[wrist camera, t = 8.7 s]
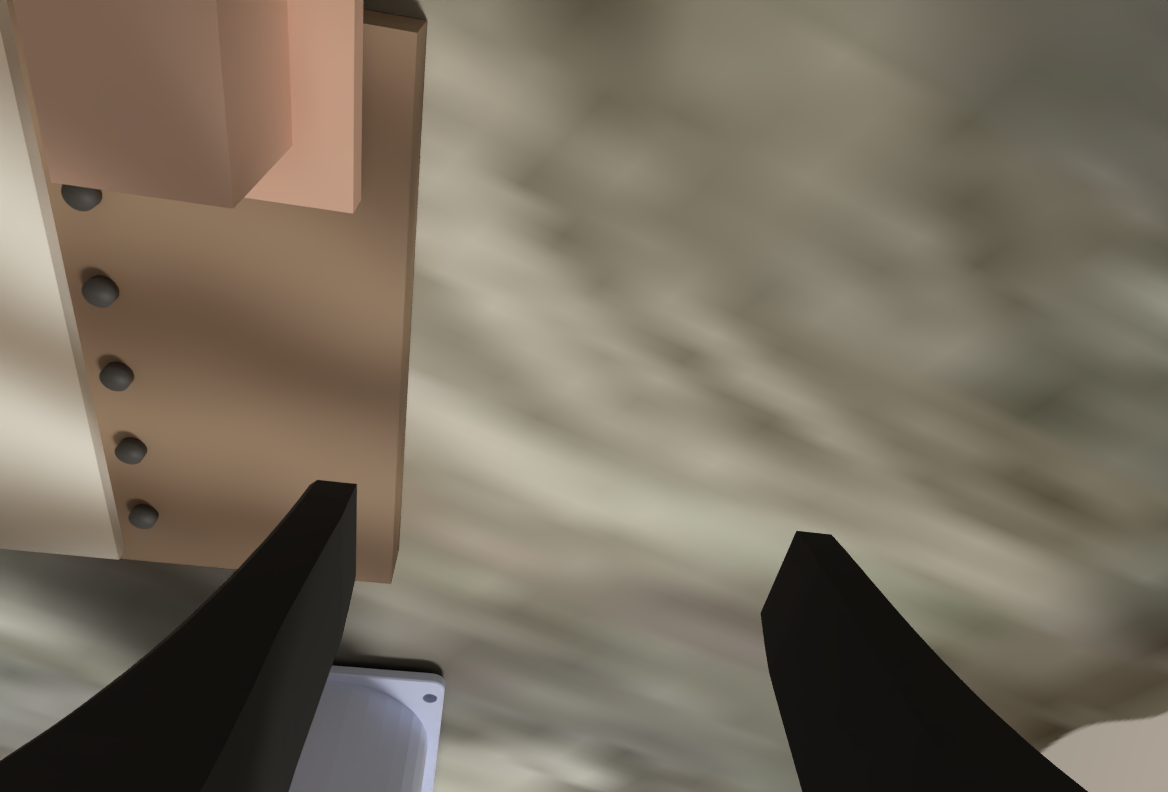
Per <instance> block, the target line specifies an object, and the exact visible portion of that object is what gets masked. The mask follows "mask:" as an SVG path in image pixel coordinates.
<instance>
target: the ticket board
mask: <svg viewBox="0 0 1168 792" xmlns="http://www.w3.org/2000/svg"><path fill="white" fill-rule="evenodd" d="M426 35H427V20H421V19H415V18H410V17H404V16H399V15H393V14H387V13H382V12H376V11H370V10H365V9H363V72H362V154H361V201H360V203H359V204H358V206H357V208H356V210H355V211H354V213H353V214H352V213H346V212H339V211H332V210H325V209H318V208H311V207H305V206H298V205H291V204H284V203H277V202H271V201H264V200H257V199H250V198H243V199H242V200H241V201H240V202H239V203H238V204H237V205H236V207H235V208H234V209H231V208H224V207H217V206H210V205H203V204H196V203H189V202H183V201H176V200H169V199H162V198H155V197H148V196H141V195H134V194H127V193H121V192H114V191H107V190H100V189H93V188H86V187H79V186H72V185H65V184H59V183H52V182H51V179H50V175H49V170H48V165H47V160H46V156H45V151H44V146H43V142H42V137H41V132H40V127H39V123H38V118H37V113H36V108H35V104H34V99H33V94H32V90H31V85H30V80H29V75H28V71H27V66H26V61H25V57H24V52H23V47H22V42H21V38H20V33H19V28H18V23H17V19H16V14H15V9H14V5H13V0H0V549H8V550H19V551H29V552H40V553H51V554H62V555H73V556H84V557H94V558H105V559H116V560H119V559H128V560H139V561H150V562H161V563H172V564H183V565H193V566H204V567H215V568H226V569H238V568H239V567H240V566H241V565H242V564H243V563H244V562H245V561H246V560H247V558H248V557H249V556H250V555H251V554H252V553H253V552H254V551H255V550H256V549H257V548H258V547H259V546H260V544H261V543H262V542H263V541H264V540H265V539H266V538H267V537H268V535H269V534H270V533H271V532H272V531H273V530H274V529H275V527H276V526H277V525H278V524H279V523H280V522H281V520H282V519H283V518H284V517H285V516H286V514H287V513H288V512H289V511H290V510H291V508H292V507H293V506H294V505H295V503H296V502H297V501H298V500H299V498H300V497H301V496H302V494H303V493H304V492H305V490H306V489H307V488H308V486H309V485H310V484H312V483H313V482H315V481H316V480H325V481H334V482H343V483H353V484H357V532H356V578H355V580H356V581H366V582H377V583H388V584H391V581H392V577H393V573H394V568H395V564H396V560H397V555H398V551H399V538H400V520H401V501H402V482H403V464H404V445H405V427H406V408H407V389H408V371H409V352H410V333H411V315H412V296H413V277H414V259H415V240H416V221H417V203H418V184H419V165H420V147H421V128H422V109H423V91H424V72H425V54H426Z"/></svg>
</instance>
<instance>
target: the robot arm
mask: <svg viewBox="0 0 1168 792" xmlns="http://www.w3.org/2000/svg"><path fill="white" fill-rule="evenodd" d="M356 532H357V484H353V483H343V482H334V481H325V480H316V481H315V482H313V483H312V484H310V485H309V486H308V488H307V489H306V490H305V492H304V493H303V494H302V496H301V497H300V498H299V500H298V501H297V502H296V503H295V505H294V506H293V507H292V508H291V510H290V511H289V512H288V513H287V514H286V516H285V517H284V518H283V519H282V520H281V522H280V523H279V524H278V525H277V526H276V527H275V529H274V530H273V531H272V532H271V533H270V534H269V535H268V537H267V538H266V539H265V540H264V541H263V542H262V543H261V544H260V546H259V547H258V548H257V549H256V550H255V551H254V552H253V553H252V554H251V555H250V556H249V557H248V558H247V560H246V561H245V562H244V563H243V564H242V565H241V566H240V567H239V568H238V569H237V570H236V571H235V572H234V573H233V575H232V576H231V577H230V578H229V579H228V580H227V581H226V582H225V583H224V584H223V585H222V586H221V587H220V588H219V589H217V590H216V591H215V592H214V593H213V594H212V595H211V596H210V597H209V598H208V599H207V600H206V601H205V602H204V603H203V604H202V605H201V606H200V607H199V608H198V609H197V610H196V611H195V612H194V613H193V614H192V615H191V616H189V617H188V618H187V619H186V620H185V621H184V622H183V623H182V624H181V625H180V626H179V627H177V628H176V629H175V630H174V631H173V632H172V633H171V634H170V635H169V636H167V637H166V638H165V639H164V640H163V641H162V642H160V643H159V644H158V645H157V646H156V647H155V648H154V649H152V650H151V651H150V652H149V653H148V654H146V655H145V656H144V657H143V658H141V659H140V660H139V661H138V662H137V663H135V664H134V665H133V666H132V667H131V668H129V669H128V670H127V671H126V672H124V673H123V674H122V675H121V676H119V677H118V678H117V679H115V680H114V681H113V682H111V683H110V684H109V685H107V686H106V687H105V688H104V689H102V690H101V691H100V692H98V693H97V694H96V695H94V696H93V697H92V698H90V699H89V700H88V701H87V702H85V703H84V704H83V705H81V706H80V707H79V708H77V709H76V710H74V711H73V712H72V713H70V714H69V715H67V716H66V717H65V718H63V719H62V720H61V721H59V722H58V723H56V724H55V725H53V726H52V727H51V728H49V729H48V730H46V731H45V732H43V733H42V734H40V735H39V736H37V737H36V738H34V739H33V740H31V741H30V742H28V743H26V744H25V745H23V746H22V747H20V748H19V749H17V750H16V751H14V752H13V753H11V754H10V755H8V756H7V757H5V758H4V759H2V760H1V761H0V792H433V787H434V779H435V770H436V761H437V753H438V744H439V735H440V726H441V718H442V709H443V700H444V691H445V680H444V678H443V677H442V676H440V675H438V674H433V673H422V672H409V671H397V670H384V669H372V668H359V667H346V666H334V665H332V664H333V661H334V658H335V655H336V653H337V650H338V647H339V644H340V641H341V638H342V635H343V631H344V626H345V622H346V618H347V613H348V609H349V605H350V600H351V596H352V591H353V587H354V582H355V578H356ZM761 620H762V627H763V635H764V643H765V650H766V656H767V662H768V668H769V673H770V677H771V681H772V685H773V689H774V692H775V696H776V700H777V703H778V707H779V710H780V714H781V718H782V721H783V725H784V728H785V732H786V735H787V739H788V742H789V746H790V750H791V753H792V757H793V760H794V764H795V767H796V771H797V774H798V778H799V781H800V785H801V789H802V792H1088V791H1086V790H1085V789H1084V788H1083V787H1081V786H1080V785H1079V784H1078V783H1076V782H1075V781H1074V780H1073V779H1071V778H1070V777H1069V776H1067V775H1066V774H1065V773H1064V772H1063V771H1061V770H1060V769H1059V768H1057V767H1056V766H1055V765H1054V764H1053V763H1051V762H1050V761H1049V760H1048V759H1047V758H1045V757H1044V756H1043V755H1042V754H1041V753H1040V752H1038V751H1037V750H1036V749H1035V748H1034V747H1033V746H1031V745H1030V744H1029V743H1028V742H1027V741H1026V740H1025V739H1024V738H1022V737H1021V736H1020V735H1019V734H1018V733H1017V732H1016V731H1015V730H1014V729H1012V728H1011V727H1010V726H1009V725H1008V724H1007V723H1006V722H1005V721H1004V720H1002V719H1001V718H1000V717H999V716H998V715H997V714H996V713H995V712H994V711H993V710H991V709H990V708H989V707H988V706H987V705H986V704H985V703H984V702H983V701H982V700H981V699H980V698H979V697H978V696H977V695H976V694H975V693H974V692H973V691H972V690H971V689H970V688H969V687H968V686H967V685H966V684H965V683H964V682H963V681H962V680H961V679H960V678H959V677H958V676H957V675H956V674H955V673H954V672H953V671H952V670H951V669H950V668H949V667H948V666H947V665H946V664H945V663H944V662H943V661H942V660H941V658H940V657H939V656H938V655H937V654H936V653H935V652H934V651H933V650H932V649H931V648H930V647H929V646H928V645H927V643H926V642H925V641H924V640H923V639H922V638H921V637H920V636H919V635H918V634H917V632H916V631H915V630H914V629H913V628H912V627H911V626H910V625H909V624H908V622H907V621H906V620H905V619H904V618H903V617H902V616H901V615H900V613H899V612H898V611H897V610H896V609H895V608H894V606H893V605H892V604H891V603H890V602H889V601H888V600H887V598H886V597H885V596H884V595H883V594H882V593H881V591H880V590H879V589H878V588H877V587H876V586H875V584H874V583H873V582H872V581H871V580H870V579H869V577H868V576H867V575H866V574H865V573H864V571H863V570H862V569H861V568H860V567H859V566H858V564H857V563H856V562H855V561H854V560H853V559H852V557H851V556H850V555H849V554H848V553H847V552H846V550H845V549H844V548H843V547H842V546H841V545H840V544H839V543H838V541H837V540H836V539H835V538H834V537H833V536H832V535H830V534H820V533H811V532H802V531H796V533H795V536H794V538H793V540H792V543H791V545H790V547H789V549H788V552H787V554H786V556H785V559H784V561H783V563H782V565H781V568H780V570H779V572H778V575H777V577H776V579H775V581H774V584H773V586H772V588H771V591H770V593H769V595H768V598H767V600H766V602H765V604H764V607H763V609H762V611H761Z"/></svg>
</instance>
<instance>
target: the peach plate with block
mask: <svg viewBox="0 0 1168 792" xmlns="http://www.w3.org/2000/svg"><path fill="white" fill-rule="evenodd" d="M13 5H14V9H15V14H16V19H17V23H18V28H19V33H20V38H21V42H22V47H23V52H24V57H25V61H26V66H27V71H28V75H29V80H30V85H31V90H32V94H33V99H34V104H35V108H36V113H37V118H38V123H39V127H40V132H41V137H42V142H43V146H44V151H45V156H46V160H47V165H48V170H49V175H50V179H51V182H52V183H59V184H65V185H72V186H79V187H86V188H93V189H100V190H107V191H114V192H121V193H127V194H134V195H141V196H148V197H155V198H162V199H169V200H176V201H183V202H189V203H196V204H203V205H210V206H217V207H224V208H231V209H234V208H235V207H236V205H237V204H238V203H239V202H240V201H241V200H242V199H243V198H250V199H257V200H264V201H271V202H277V203H284V204H291V205H298V206H305V207H311V208H318V209H325V210H332V211H339V212H346V213H352V214H353V213H354V211H355V210H356V208H357V206H358V204H359V203H360V201H361V154H362V72H363V0H13Z"/></svg>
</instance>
